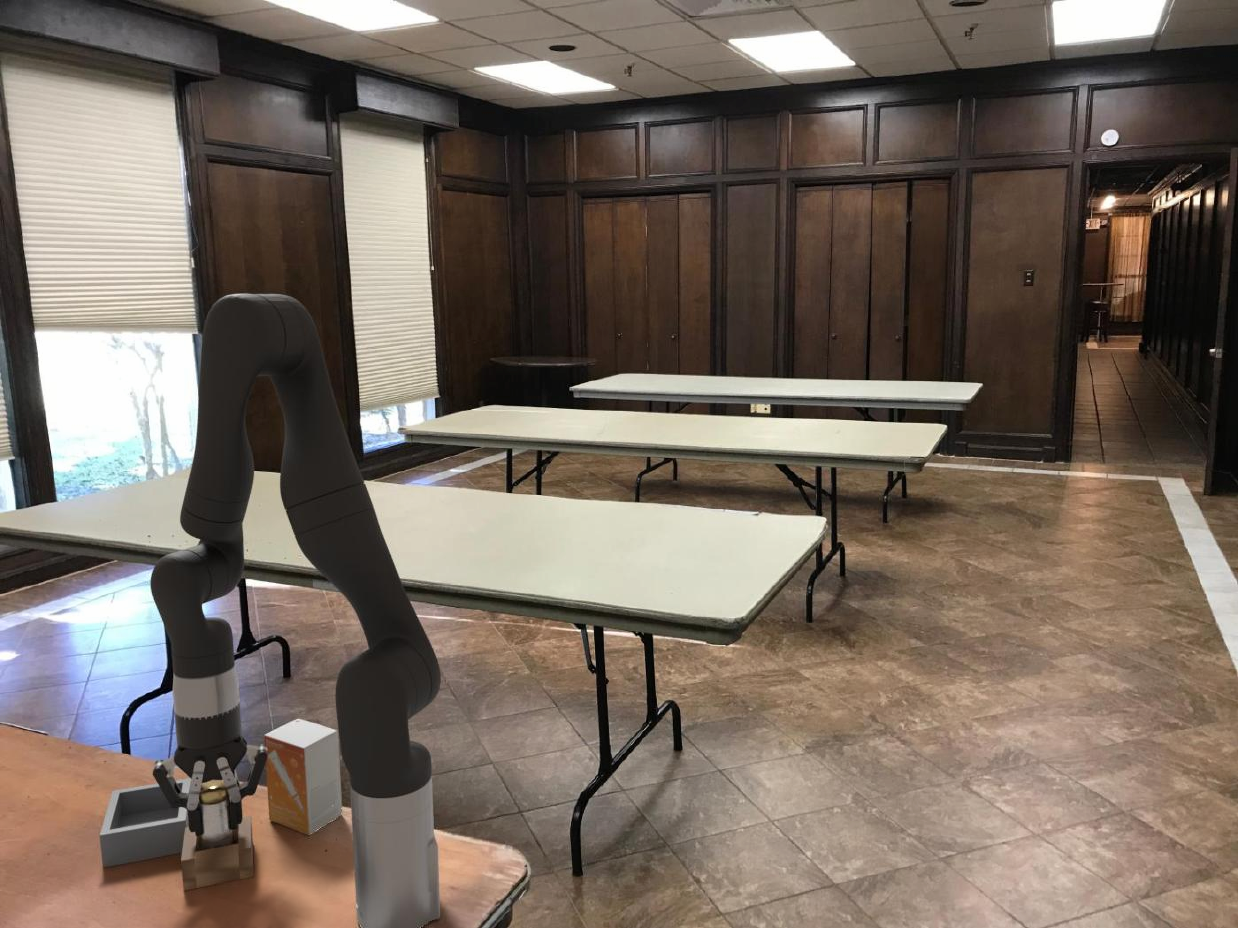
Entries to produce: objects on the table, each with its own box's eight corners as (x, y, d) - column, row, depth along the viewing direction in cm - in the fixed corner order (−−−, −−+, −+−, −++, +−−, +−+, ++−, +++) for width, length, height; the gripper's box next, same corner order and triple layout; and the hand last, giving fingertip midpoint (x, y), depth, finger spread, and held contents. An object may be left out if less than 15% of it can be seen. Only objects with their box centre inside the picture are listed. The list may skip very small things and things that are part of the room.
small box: (268, 821, 132) (262, 734, 129) (303, 800, 137) (298, 716, 135) (309, 837, 128) (303, 747, 125) (344, 815, 133) (339, 729, 131)
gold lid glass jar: (234, 855, 123) (229, 777, 122) (234, 870, 120) (228, 790, 118) (205, 861, 122) (198, 782, 120) (203, 876, 119) (197, 795, 117)
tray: (193, 806, 135) (191, 777, 135) (188, 851, 124) (185, 820, 123) (115, 820, 132) (112, 790, 131) (102, 867, 121) (99, 835, 120)
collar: (252, 843, 126) (250, 815, 125) (252, 876, 119) (250, 847, 118) (187, 855, 123) (185, 827, 123) (183, 890, 116) (181, 860, 115)
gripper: (140, 723, 111) (152, 856, 114) (267, 705, 116) (276, 833, 119) (147, 699, 118) (158, 825, 121) (267, 683, 123) (275, 804, 126)
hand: (217, 828), depth 120 cm, fingers closed on gold lid glass jar, 3 cm apart
